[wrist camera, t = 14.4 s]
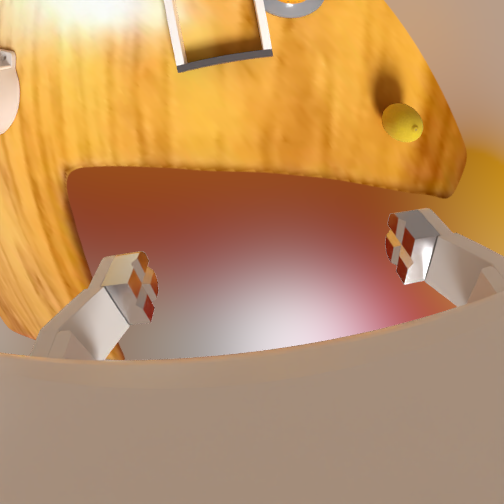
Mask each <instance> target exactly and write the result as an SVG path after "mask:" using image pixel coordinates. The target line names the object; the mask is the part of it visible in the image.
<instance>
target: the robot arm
mask: <svg viewBox="0 0 504 504" xmlns="http://www.w3.org/2000/svg"><path fill="white" fill-rule="evenodd" d="M15 65H16V55H15V52H13V51H9V50H4V49H0V134H2V133H4V132H5V131H6V130H7V129H8V128H9V127H10V126H11V124H12V122H13V121H14V118H15V116H16V113H17V110H18V105H19V98H20V87H19V80H18V77H17V73H16V69H15ZM388 226H389V227H390V229H391V230H390V231H389V232H388V234H387V235H386V241H385V246H386V253H387V256H388V258H389V260H390V262H391V263H393V264H395V265H397V269H396V272H397V273H398V275H399V277H400V278H401V280H402V282H403V284H404V285H405V284H410V283H415V282H420V281H425V282H426V283H427V284H429V285H430V286H431V287H433V288H434V289H435V290H437V291H438V292H439V293H441V294H442V295H444V296H445V297H446V298H447V299H449V300H450V301H451V302H452V303H454V304H455V305H456V306H457V307H456V308H453V309H450V310H447V311H444V312H441V313H437V314H434V315H431V316H427V317H424V318H421V319H417V320H413V321H410V322H406V323H402V324H398V325H394V326H390V327H386V328H382V329H378V330H374V331H370V332H365V333H360V334H356V335H351V336H346V337H342V338H337V339H332V340H327V341H321V342H315V343H309V344H304V345H298V346H291V347H285V348H278V349H271V350H264V351H256V352H247V353H239V354H229V355H219V356H207V357H194V358H179V359H159V360H104V359H105V358H106V357H107V355H108V354H109V353H110V351H111V350H112V349H113V347H114V346H115V345H116V343H117V342H118V341H119V339H120V338H121V336H122V335H123V334H124V333H125V332H126V330H127V329H128V328H129V325H135V324H144V323H151V321H152V317H153V312H154V308H155V307H154V305H153V304H152V302H153V301H154V300H155V299H156V298H157V296H158V281H157V277H156V274H155V272H154V271H153V270H152V269H150V268H149V267H148V263H149V259H148V257H147V255H146V253H144V252H143V251H139V252H133V253H127V254H120V255H113V256H108V257H105V258H103V259H102V261H101V263H100V265H99V267H98V269H97V271H96V273H95V275H94V277H93V279H92V281H91V283H90V285H89V287H88V289H84V290H83V291H82V292H81V293H80V294H79V295H77V296H76V297H75V298H74V299H73V300H72V301H71V302H70V303H69V304H67V305H66V306H65V307H64V308H63V309H62V310H61V311H60V312H59V313H58V314H57V315H56V316H54V317H53V318H52V319H51V320H50V321H49V322H48V323H47V324H46V325H45V326H44V327H43V328H42V329H41V330H40V332H39V334H38V336H37V339H36V341H35V343H34V346H33V348H32V351H31V353H30V356H24V355H15V354H6V353H0V504H504V257H503V256H501V255H500V254H498V253H496V252H494V251H492V250H490V249H488V248H486V247H484V246H482V245H480V244H478V243H476V242H474V241H472V240H470V239H468V238H466V237H464V236H462V235H460V234H457V233H452V232H451V231H450V229H449V228H448V227H447V226H446V225H445V224H444V223H443V222H442V221H441V220H440V219H439V217H438V216H437V215H436V214H435V213H434V212H433V211H432V210H431V209H429V208H423V209H417V210H412V211H406V212H399V213H393V214H390V216H389V219H388Z"/></svg>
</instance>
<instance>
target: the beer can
mask: <svg viewBox="0 0 504 504" xmlns="http://www.w3.org/2000/svg"><path fill="white" fill-rule="evenodd" d="M278 1H280V2H283V3H288V4H297V3H301V2H304V1H306V0H278Z"/></svg>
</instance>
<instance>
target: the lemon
mask: <svg viewBox="0 0 504 504" xmlns="http://www.w3.org/2000/svg"><path fill="white" fill-rule="evenodd" d="M382 124H383V127H384V129H385V131H386V132H387V133H388V134H389V135H390V136H391V137H392V138H394V139H395V140H398V141H401V142H413V141H415V140H417V139H418V138H419V137H420V135H421V134H422V131H423V122H422V119H421V117H420V115H419V114H418V113H417V112H416V111H415V110H414V109H413V108H412V107H410V106H408V105H406V104H402V103H395V104H391V105H389V106H388V107H387V108H386V109H385V110H384V112H383V114H382Z"/></svg>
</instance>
